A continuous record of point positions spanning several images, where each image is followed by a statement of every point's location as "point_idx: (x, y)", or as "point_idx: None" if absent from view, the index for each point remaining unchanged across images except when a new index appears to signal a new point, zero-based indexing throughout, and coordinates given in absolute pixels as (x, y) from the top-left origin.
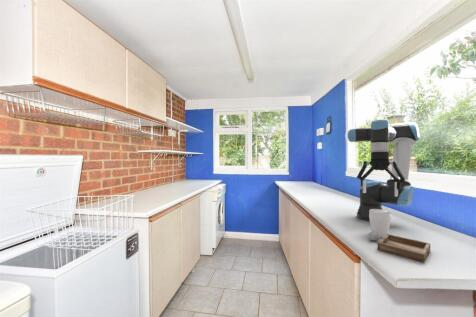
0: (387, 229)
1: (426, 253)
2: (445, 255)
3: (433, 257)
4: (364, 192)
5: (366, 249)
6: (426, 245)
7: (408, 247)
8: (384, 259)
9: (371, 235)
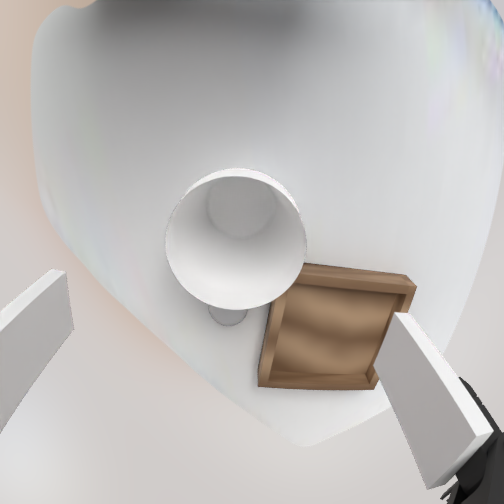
0: (279, 236)
1: None
2: (432, 287)
3: None
4: (70, 327)
5: (229, 382)
6: None
7: (347, 317)
8: (280, 410)
9: (224, 325)
